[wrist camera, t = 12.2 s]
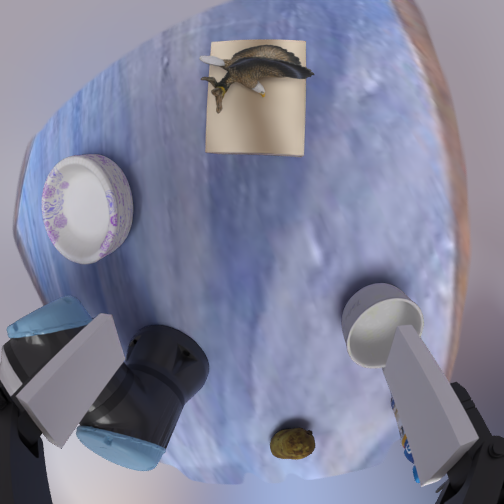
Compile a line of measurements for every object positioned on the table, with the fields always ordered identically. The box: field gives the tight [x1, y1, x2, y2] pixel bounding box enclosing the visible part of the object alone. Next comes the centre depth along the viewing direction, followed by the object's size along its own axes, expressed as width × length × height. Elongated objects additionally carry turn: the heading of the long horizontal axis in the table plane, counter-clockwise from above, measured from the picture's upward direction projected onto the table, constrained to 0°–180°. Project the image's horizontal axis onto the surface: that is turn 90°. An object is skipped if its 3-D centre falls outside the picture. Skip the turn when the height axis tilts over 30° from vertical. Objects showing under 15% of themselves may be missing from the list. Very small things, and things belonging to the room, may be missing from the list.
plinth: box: [205, 40, 306, 157], centre depth 27 cm, size 10×13×7 cm
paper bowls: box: [42, 154, 133, 264], centre depth 34 cm, size 15×15×8 cm
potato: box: [270, 428, 315, 459], centre depth 45 cm, size 8×13×8 cm, turn 138°
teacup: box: [342, 283, 424, 372], centre depth 34 cm, size 14×11×8 cm
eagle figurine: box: [199, 45, 314, 114], centre depth 21 cm, size 8×7×9 cm
